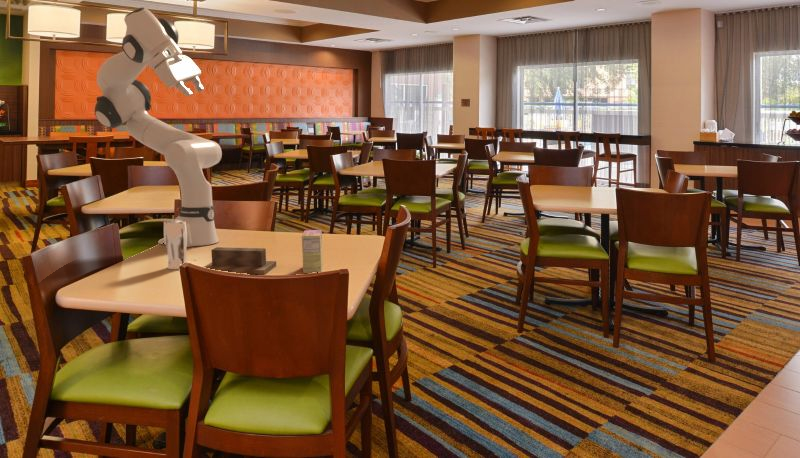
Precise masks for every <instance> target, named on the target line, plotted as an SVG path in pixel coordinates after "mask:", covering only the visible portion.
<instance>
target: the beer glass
mask: <svg viewBox="0 0 800 458" xmlns="http://www.w3.org/2000/svg"><path fill="white" fill-rule="evenodd" d="M163 238H164V240H165V244H164V245H165V248H166V253H167V258H168V261H167V269H168V270H170V271H178V270H179V266H180V264H183V263H187V264H188V262H187V248H188V247H187V226H186V220H175V219H169V220H168V219H167V220H164V221H163ZM179 271H180V270H179Z"/></svg>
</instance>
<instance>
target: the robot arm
mask: <svg viewBox="0 0 800 458" xmlns="http://www.w3.org/2000/svg"><path fill="white" fill-rule="evenodd" d="M123 19H124V23H125V25H126V31H125V35H124V37H123V38H122V42H121V47H122V51H121V52H118V53H116V54H113V55H112V56H110V57H108V58H106V59H105V60H104V61H103V63H102V64H101V66H100V67H99V69H98V71H97V74H96V84H97V87H98V88H99V90H101V93H102V95H101V96H97V97H96V103H95V106H94V116H95V118H96V119H97V121H98V122H99V123H100V124H101V125H102V126H103V127H105V128H107V129H110V130H111V129H116V128H119V127H120V126H122V124H124V123H126V124H125V126H126V127H125V129H126V132H127V133H128V134H129V135H130V136H131V137H133V138H134V139H135V140H136V141H138V142H139V143H141V144H142V145H144V146H146V147H147V148H149V149H152V150H154V151H155V152H156V153H159V154H161V155H163V157H164V160H165V163H166V164H167V166H169V168H171V169H172V171H173V172H174V175H176V178H177V181H178V184H179V188H180V197H181V206H180V207H177V208H176V211H175V212H177V213H178V215H177V217H175V218H174V220H186V226H187V248H189V247H199V246H200V247H201V246H209V245H214V244H217V243H219V241H220V240H219V239H220V238H218V237H219V236H218V235H217V230H216V226H215V206H214V205H213V189H212V184H211V183H210V181H208V180H207V179H206V177H205V175H204V172H203V169H208V168H209V169H210V168H211V167H214V166H215V165H217V164H219V163H220V161H221V160H222V156H223V152H222V147H221V146H220V144H218V143H217V142H216V141H214V140H211V139H207V138H204V137H201V136H198V135H196V134H193V133H191V132H187V131H185V130H181V129H179V128H176V127H174V126H172V125H170V124H168V123H166V122H164V121H163V120H160V119H159V118H157V117H154V116H152V115H151V114H149V113H148V112H149V111H150V110H151V108H152V105H151V103H152V98H151V92H150V89H149V88H148V87H147V85H145V84H144V83H143V82H142V81H140V80H138V79H137V78H138V77H139V76H140V74H142V72H143V71H144V70H145V69H146V68H147V66H148V67H149V68H150V70H154V73H155V74H156V76H157V77H158V78H159V79H160V80H161V82H162V83H163V85H165V86H166V87H168V88H174V87H175V88H176V89H177V90H178V91H179V92H181V93H182V94H184V96H185V97H186V98H188V97H190V96H192V94H193V92H192V91H191V90H190V88H188V87H186V86H185V83H187V82H190V81H191V83H192V84H193V85H194V86H195V90H196V91H197V93H200V92H203V91H204V86H203V84H202V83H201V80H200V78H199V77H200V76H201V75H202V71H201V70H200V68H199V67H198V66H197V64H196V63H195V62H194V61H193V60H192V58H191V57H189V56H187V55H185V54H183V51H182V50H181V48H180V47H179V45H178V43H179V31H178V29H177V27H176V26H175V24H173V23H172V22H171V21H170V20H167V19H164V18H161V17H158V18H157V17H156V16H155V15H154V13H152V12H151V10H149V9H148V8H146V7H139V8H137V9H135V10H132V11H131V12H129V13H127V14H126V15H125V17H124V18H123ZM157 243H158V244H159V245H165V240H164V237H163V238H161V239H159V240H158V241H157ZM163 243H164V244H163Z"/></svg>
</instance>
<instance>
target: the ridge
mask: <svg viewBox="0 0 800 458" xmlns="http://www.w3.org/2000/svg"><path fill="white" fill-rule="evenodd" d="M266 251H267V250H266V248H265V247H264V248H262V247H258V248H257V247H221V246H220V247H219V246H218V247H214V248H213V249H211V262H210V263H208V264H206V265H205V266H203V267H206V268H210V269H215V270H221V271H228V272H236V273H247V274H258V275H257V276H265V275H266V274H268V273H269V272H270V271H271V270H273V269H274V268H276V267H277V260H267V254H266V253H267V252H266Z"/></svg>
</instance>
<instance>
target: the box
mask: <svg viewBox="0 0 800 458" xmlns="http://www.w3.org/2000/svg"><path fill="white" fill-rule="evenodd" d="M322 236H323V233H322V229H320V230H319V229H309V230H304V231H303V233H302V235H301V248H302V250H301V251H302V273H303V274H304V273H306V274H313V273H312V272H321V271H323V266H324V265H323V264H324V263H323V237H322ZM321 273H322V272H321Z"/></svg>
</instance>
